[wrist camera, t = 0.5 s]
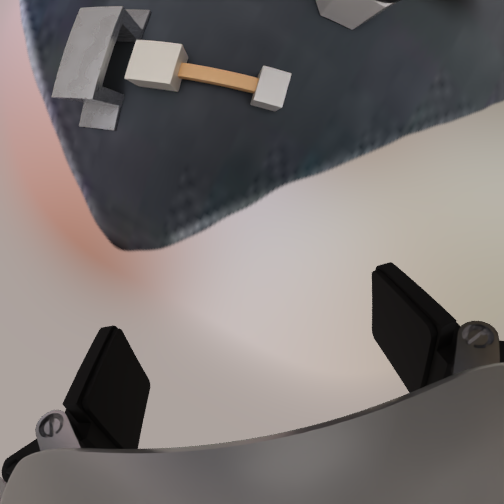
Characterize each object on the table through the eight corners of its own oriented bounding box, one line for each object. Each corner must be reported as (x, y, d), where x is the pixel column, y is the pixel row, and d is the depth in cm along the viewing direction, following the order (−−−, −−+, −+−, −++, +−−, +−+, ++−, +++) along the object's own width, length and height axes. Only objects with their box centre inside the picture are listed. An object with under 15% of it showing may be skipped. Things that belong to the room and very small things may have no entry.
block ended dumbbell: (148, 52, 28) (136, 39, 23) (283, 79, 31) (294, 69, 26) (138, 86, 29) (124, 78, 24) (274, 113, 32) (283, 109, 27)
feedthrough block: (115, 11, 25) (90, -15, 17) (151, 12, 26) (133, -17, 18) (81, 126, 30) (45, 126, 22) (116, 130, 31) (85, 129, 23)
